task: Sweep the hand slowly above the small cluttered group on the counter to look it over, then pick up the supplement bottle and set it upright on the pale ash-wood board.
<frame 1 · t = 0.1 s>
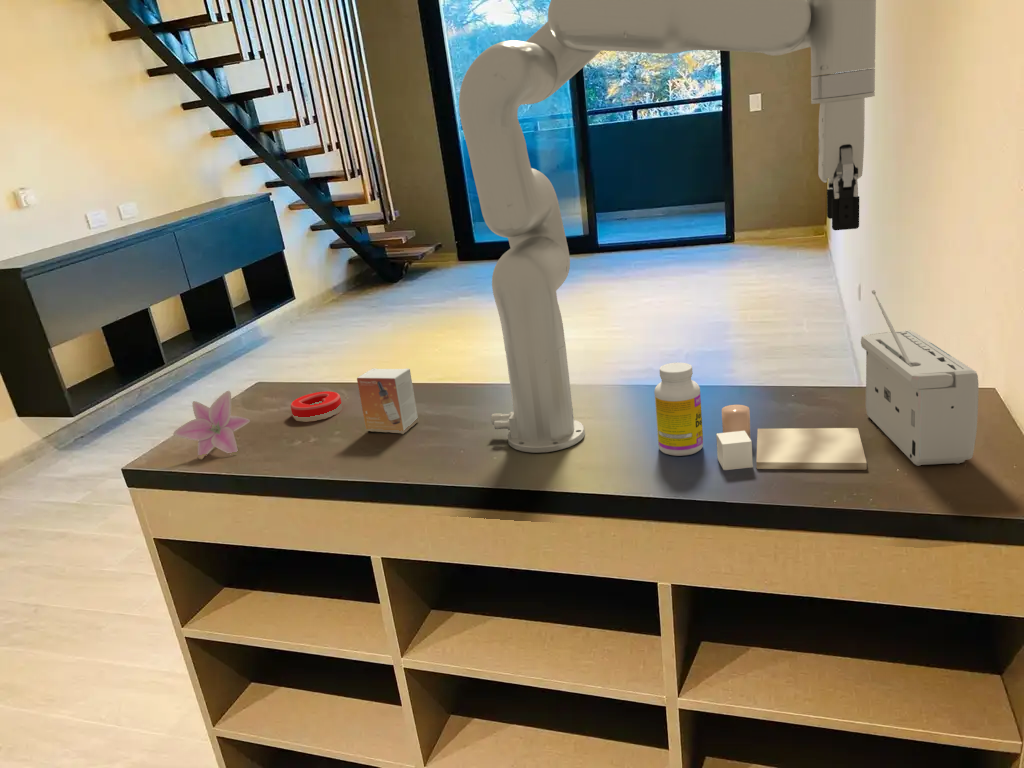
hand: (842, 223, 109), 31 cm above the table, tool pointing down, fingers open, 9 cm apart
supplement bottle: (681, 449, 122), on the table
off-white block: (734, 463, 115), on the table
peach rounded capsule: (736, 440, 122), on the table
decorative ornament: (318, 415, 160), on the table
stereo radio cassette player: (912, 439, 115), on the table
ash board: (808, 451, 115), on the table
lily: (220, 451, 147), on the table
small box: (393, 429, 146), on the table
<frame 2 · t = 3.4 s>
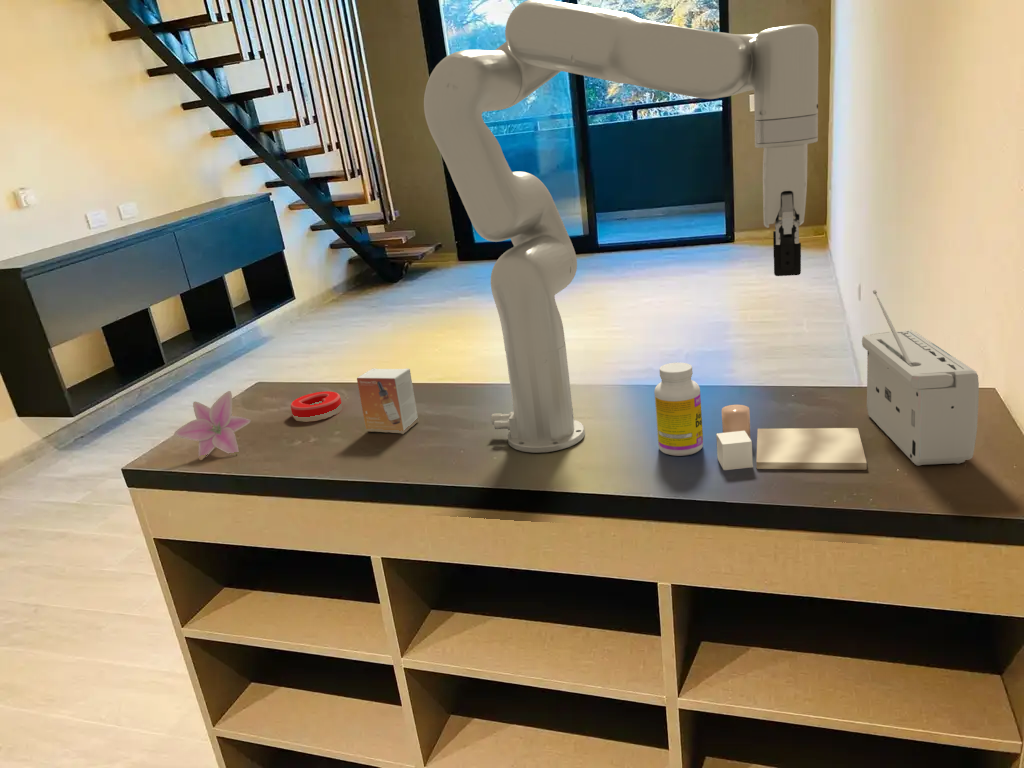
hand: (786, 267, 107), 27 cm above the table, tool pointing down, fingers open, 9 cm apart
nothing on the table moved.
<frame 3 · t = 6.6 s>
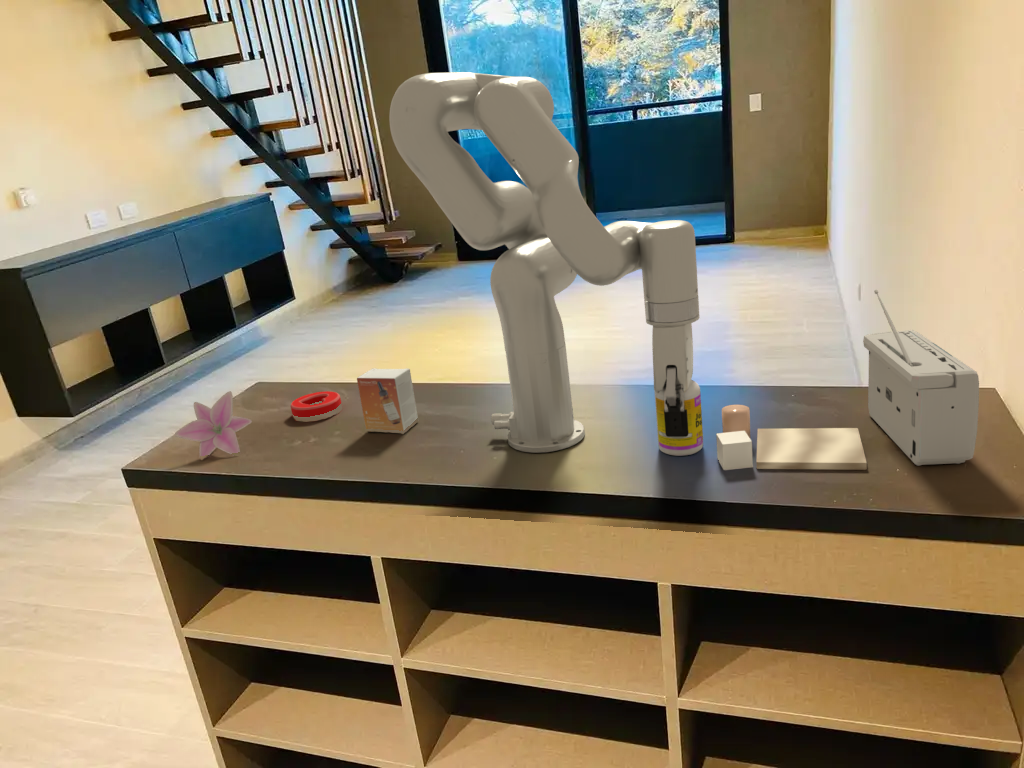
hand: (679, 425, 121), 4 cm above the table, tool pointing down, fingers closed on supplement bottle, 6 cm apart
supplement bottle: (681, 449, 122), on the table, touching gripper
everything else where it was.
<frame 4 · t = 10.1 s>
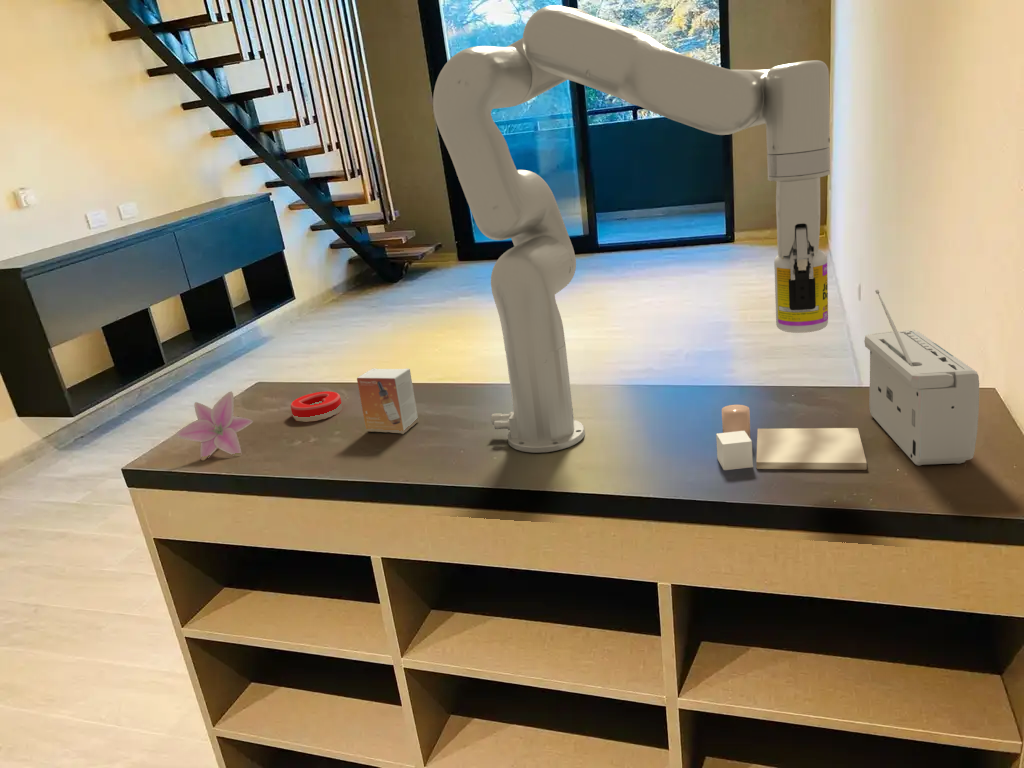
hand: (801, 300, 109), 22 cm above the table, tool pointing down, fingers closed on supplement bottle, 6 cm apart
supplement bottle: (802, 328, 110), point 18 cm above the table, touching gripper
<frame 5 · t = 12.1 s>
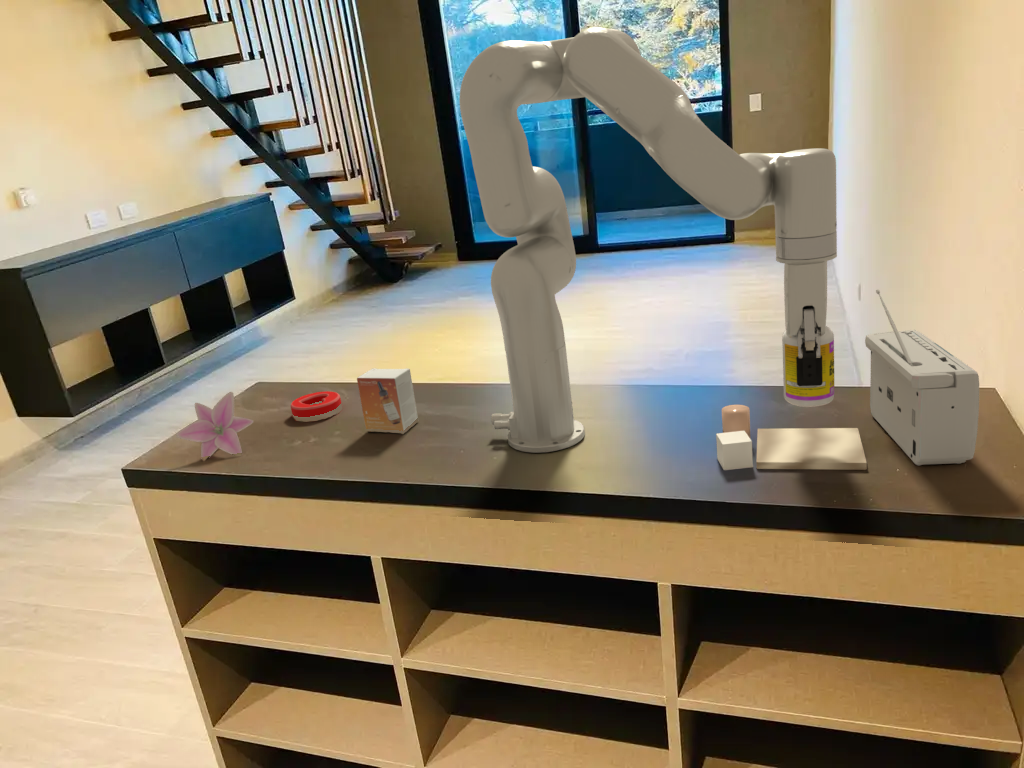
hand: (808, 374, 112), 11 cm above the table, tool pointing down, fingers closed on supplement bottle, 6 cm apart
supplement bottle: (808, 401, 113), point 8 cm above the table, touching gripper
when the fingers open (6 cm above the table, at t = 13.7 s): supplement bottle drops 1 cm, resting on ash board.
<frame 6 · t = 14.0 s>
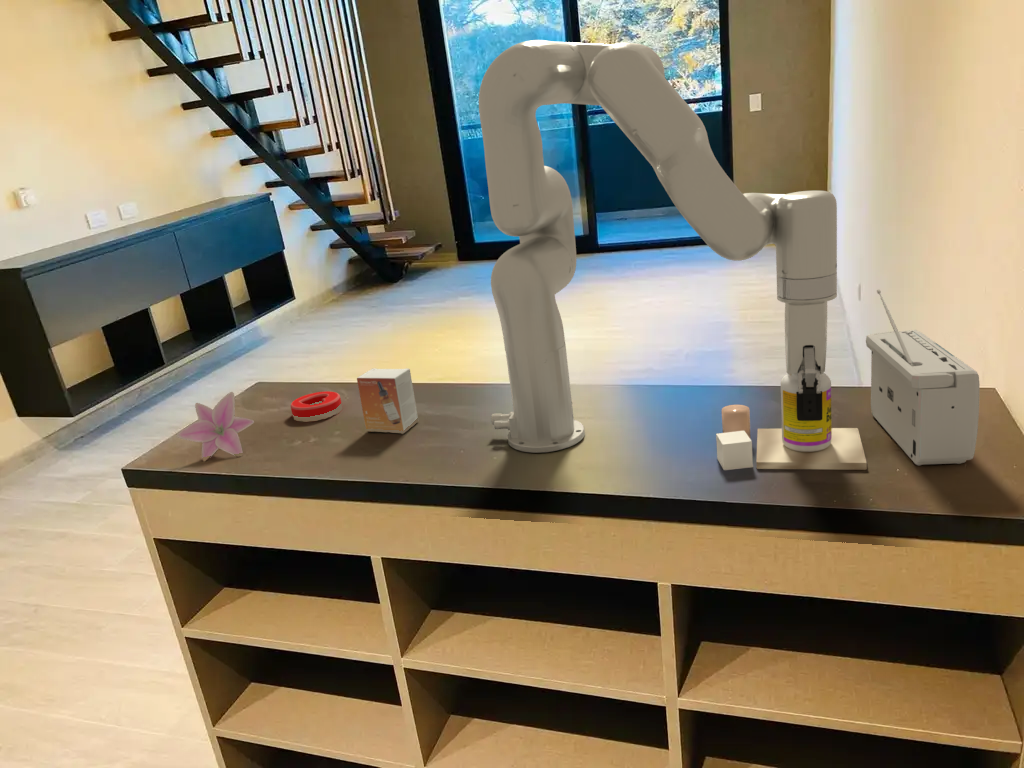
hand: (808, 406, 113), 7 cm above the table, tool pointing down, fingers open, 9 cm apart
supplement bottle: (806, 445, 115), point 1 cm above the table, touching ash board
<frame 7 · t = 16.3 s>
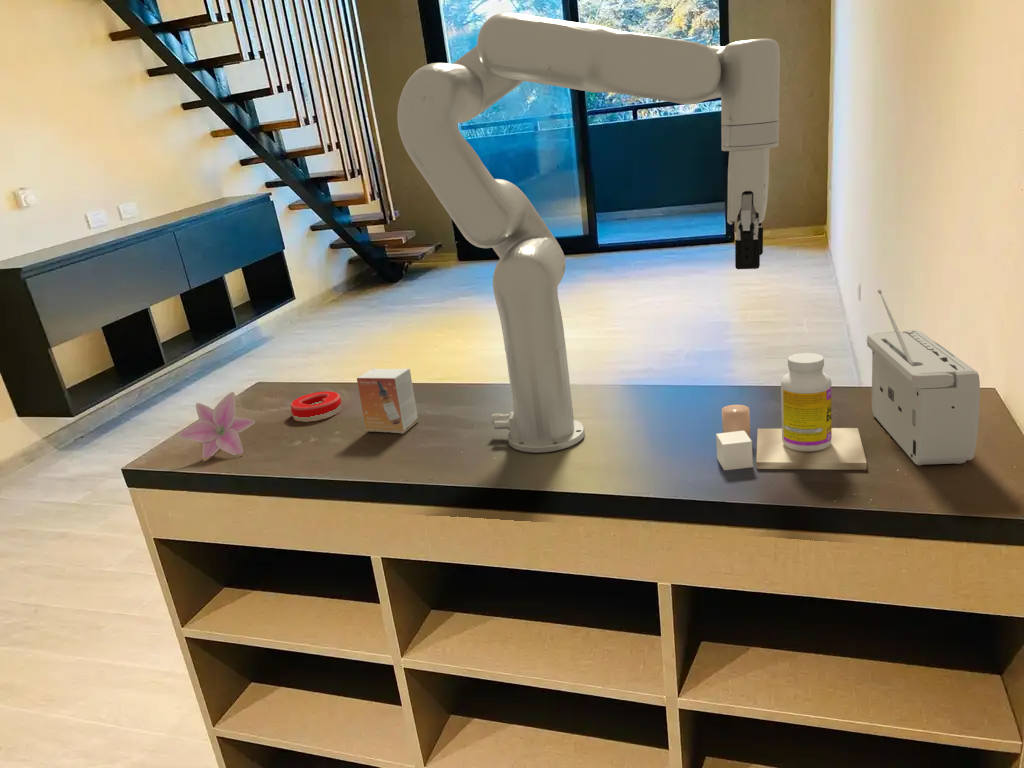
hand: (749, 261, 116), 26 cm above the table, tool pointing down, fingers open, 9 cm apart
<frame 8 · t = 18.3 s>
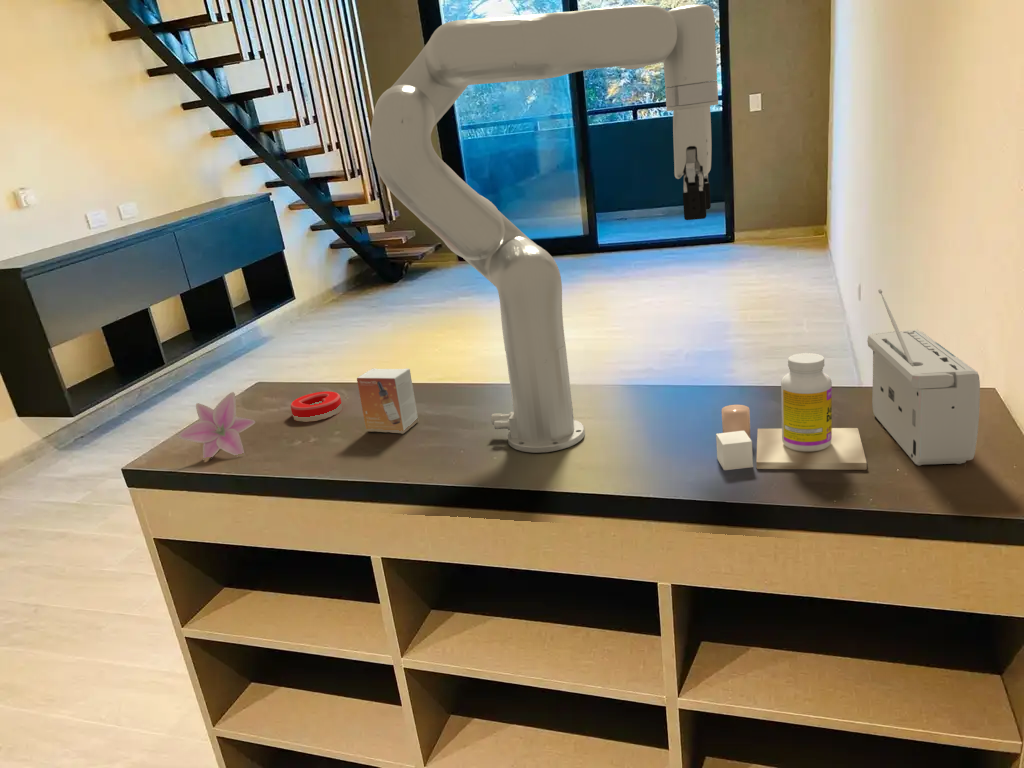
hand: (698, 214, 125), 32 cm above the table, tool pointing down, fingers open, 9 cm apart
at the end: supplement bottle inside the target area on the ash board (0.3 cm from its centre), point 0.8 cm above the ash board's base; supplement bottle tilted 0°; the gripper is holding nothing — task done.
